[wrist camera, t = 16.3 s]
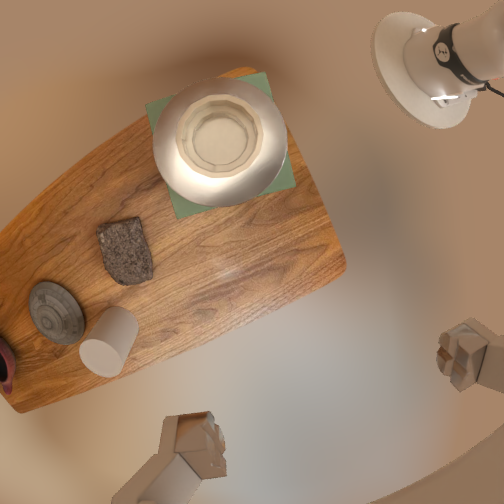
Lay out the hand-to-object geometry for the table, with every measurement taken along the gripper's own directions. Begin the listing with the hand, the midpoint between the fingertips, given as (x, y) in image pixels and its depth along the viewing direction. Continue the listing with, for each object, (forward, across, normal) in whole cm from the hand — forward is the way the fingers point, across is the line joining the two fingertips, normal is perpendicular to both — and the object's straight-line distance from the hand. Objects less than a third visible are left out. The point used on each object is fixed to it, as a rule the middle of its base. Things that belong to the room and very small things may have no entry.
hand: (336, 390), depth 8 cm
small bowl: (+20, +1, -10) cm, 22 cm away
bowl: (+43, +71, +18) cm, 85 cm away
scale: (+43, +1, -10) cm, 44 cm away
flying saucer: (+43, +44, +10) cm, 62 cm away
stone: (+43, +22, +2) cm, 48 cm away
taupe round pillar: (+43, +30, +16) cm, 55 cm away
